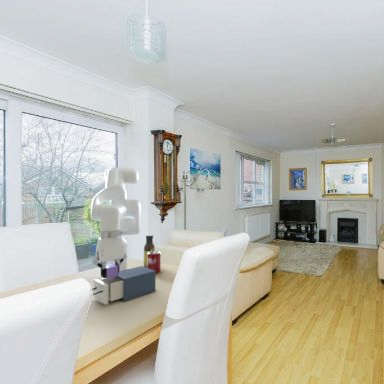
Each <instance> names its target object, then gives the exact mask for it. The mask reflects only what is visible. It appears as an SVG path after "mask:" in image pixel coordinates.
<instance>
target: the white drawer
mask: <svg viewBox="0 0 384 384" xmlns="http://www.w3.org/2000/svg"><path fill="white" fill-rule="evenodd" d="M91 288H92V290H91V291H93V292H92V293H93V295H92V296H93V299H96V300H97V301H99V302H100V303H102V304H103V305H104V306H106V305H109V302H114V301H117V300H121V299H120V298H123V297H124V280H122V279H119V278H117V277H112V278H108V279H107V278H103V277H102V278H100V279H98V278H95V279H93V287H91Z"/></svg>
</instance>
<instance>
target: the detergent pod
mask: <svg viewBox="0 0 384 384" xmlns="http://www.w3.org/2000/svg"><path fill="white" fill-rule="evenodd" d="M105 268H106V278H107V279H108V278H112V277H116V276H118V266H117V265H115V264H111V265H108V264H106V266H105Z"/></svg>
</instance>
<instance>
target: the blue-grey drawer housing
mask: <svg viewBox="0 0 384 384" xmlns="http://www.w3.org/2000/svg"><path fill="white" fill-rule="evenodd" d="M116 277H117V278H119V279H122V280H124V297H123V298H120V299H119V300H122V301H123V302H126V301H129V300H132V299H135V298H139V297H141V296H144V295H147V294H151V293H154V292H156V275H155V271H154V270H151V269H149V268H146V267H144V265H140V266H135V267H132V268H127V270H123V271H119V275H118V276H116Z"/></svg>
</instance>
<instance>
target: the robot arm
mask: <svg viewBox="0 0 384 384" xmlns="http://www.w3.org/2000/svg"><path fill="white" fill-rule="evenodd" d="M104 179H105V187H104V188H103V189H101V190H100V191H98V193H96V195H95V196H93V198H92V200H91V201H92V202H91V207H90V218H91V220H92V221H94V222H100V225H99V226H100V227H99V228H100V234H99V235H100V237H98V238H97V242H96V248H95V257H94V258H93V259H92V261H91V264H92V265H95V266H97V267H98V268H100V276H101V278H102V279H103V278H106V268H105V266H106V265H111V264H115V265H117V266H118V275H119V271H123V270H127V269H128V241H127V239H126V238H124V237H123V236H133V235H134V236H135V235H138V234H140V233H141V229H142V207H141V203H140V201H139V200H137V199H128V196H127V195H128V191H127V189H126V188H125V187H126V184H127V185H128V184H129V185H130V184H132V185H133V184H137V183H138V182H139V179H140V174H139V171H138V169H137V168H134V167H123V166H120V167H119V166H117V167H116V166H115V167H111V168H107V169H105V170H104ZM105 202H109V203H108V204H107V203H105ZM104 203H105V204H104ZM98 261H99V262H98Z"/></svg>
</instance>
